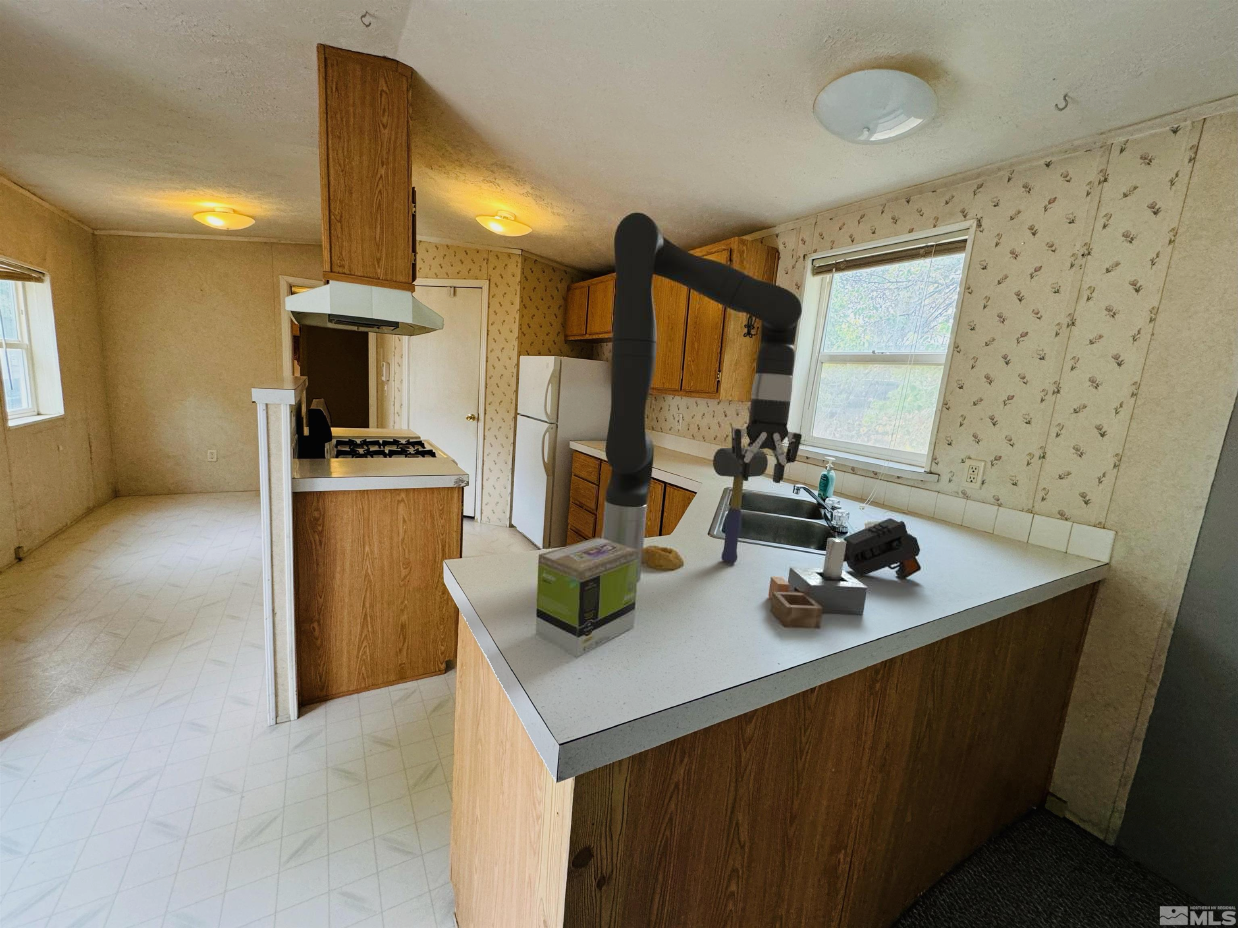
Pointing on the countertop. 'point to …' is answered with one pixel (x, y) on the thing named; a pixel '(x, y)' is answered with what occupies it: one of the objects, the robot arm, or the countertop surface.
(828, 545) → the tall gray stick
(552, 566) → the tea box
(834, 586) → the socket
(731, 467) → the rubber mallet
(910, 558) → the black toy pistol
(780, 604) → the open wooden box
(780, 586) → the drift key
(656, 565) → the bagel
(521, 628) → the countertop surface
